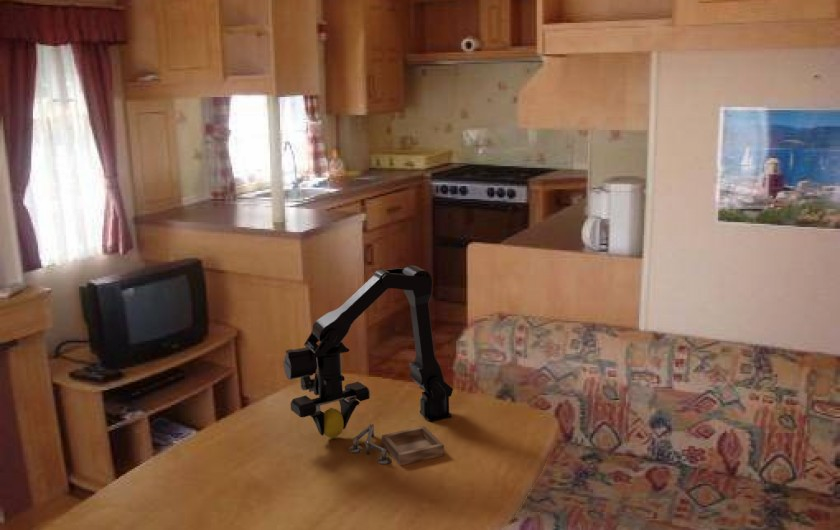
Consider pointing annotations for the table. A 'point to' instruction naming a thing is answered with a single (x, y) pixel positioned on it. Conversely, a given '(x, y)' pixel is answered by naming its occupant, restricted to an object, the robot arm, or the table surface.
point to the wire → (369, 445)
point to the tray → (412, 445)
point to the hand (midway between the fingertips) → (332, 431)
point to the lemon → (333, 423)
